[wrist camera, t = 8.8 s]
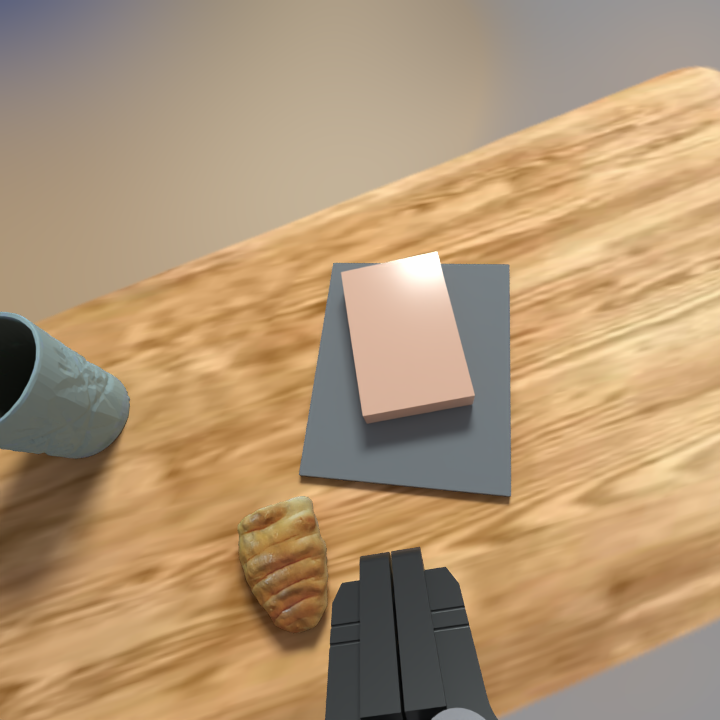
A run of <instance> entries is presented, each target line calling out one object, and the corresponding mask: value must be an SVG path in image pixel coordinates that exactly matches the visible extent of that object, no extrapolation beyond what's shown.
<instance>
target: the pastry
mask: <svg viewBox="0 0 720 720" xmlns="http://www.w3.org/2000/svg"><path fill="white" fill-rule="evenodd" d="M238 533H239V560H240V562H241V564H242V567H243V569H244V573H245V577H246V581H247V583H248V584H249V586H250V588H251V591H252V593H253V595H254V596H255V597H256V598H257V600H258V602H259V604H260V605H261V606H262V607H263V608H264V609H265V610H266V611H267V613H268V614H269V616H270V617H271V619H272V621H273V623H274V624H275V625H276V626H277V627H279V628H280V629H283V630H286V631H288V632H293V633H298V632H303V631H305V630H308V629H311V628H314V627H315V626H316V625H317V624H318V623H319V621H320V619H321V617H322V615H323V613H324V611H325V609H326V607H327V581H328V571H327V564H326V563H327V557H326V552H327V548H326V544H325V541H324V540H323V539H322V537H321V535H320V531H319V526H318V521H317V518H316V516H315V514H314V511H313V503H312V501H311V499H310V498H308V497H305V496H301V497H295V498H292V499H289V500H287V501H285V502H279V503H277V504H274V505H270V506H267V507H264V508H261V509H259V510H257V511H255V512H254V513H253V514H251V515H248V516H246V517H245V518H244V519H242V521H241V522H240V524H239V525H238Z"/></svg>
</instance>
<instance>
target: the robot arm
mask: <svg viewBox="0 0 720 720" xmlns="http://www.w3.org/2000/svg"><path fill="white" fill-rule="evenodd" d="M391 559H392V560H391ZM325 720H498V719H497V718H496V716H495V714H494V713H493V711H492V709H491V707H490V704H489V701H488V698H487V694H486V690H485V686H484V682H483V678H482V674H481V670H480V666H479V662H478V658H477V654H476V650H475V646H474V642H473V638H472V634H471V630H470V627H469V622H468V618H467V614H466V610H465V606H464V602H463V598H462V594H461V590H460V586H459V583H458V582H457V581H456V579H455V578H454V577H453V576H452V574H451V573H450V572H449V570H448V569H447V568H446V567H442V568H435V569H429V570H424V564H423V559H422V554H421V549H420V547H416V548H410V549H404V550H397V551H391V556H390V553H389V552H386V553H379V554H373V555H367V556H361V557H360V580H359V581H352V582H346V583H342V584H341V586H340V588H339V590H338V592H337V595H336V597H335V599H334V601H333V603H332V618H331V634H330V650H329V667H328V683H327V699H326V715H325Z"/></svg>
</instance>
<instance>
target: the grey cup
mask: <svg viewBox="0 0 720 720" xmlns="http://www.w3.org/2000/svg"><path fill="white" fill-rule="evenodd" d="M127 394H128V392H127V391H126V388H125V387H124V385H123V384H122V383H121V381H120V380H118V379H117V378H116V377H114V376H113V375H111V374H110V373H108V372H106V371H104V370H103V369H101V368H100V367H98V366H96V365H94V364H92V363H90V362H88V361H86V359H85V358H84V357H83V356H81V355H79V354H78V353H77V352H75V351H73V350H71V349H70V348H68V347H66V346H65V345H64V344H62V343H61V342H60V341H58V340H57V339H55V338H53V337H52V336H50V335H49V334H48V333H46V332H45V331H43V330H42V329H40V328H39V327H38V326H36V325H35V324H33V323H32V322H30V321H29V320H27V319H26V318H24V317H22V316H20V315H18V314H14V313H8V312H0V448H1V449H7V450H13V451H20V452H28V453H35V454H41V453H43V452H45V453H46V454H47V455H51V456H59V457H66V458H84V457H89V456H92V455H95V454H97V453H99V452H101V451H102V450H104V449H105V448H107V447H108V446H109V445H110V444H111V443H112V442H113V441H114V440H115V439H116V438H117V437H118V435H119V434H120V432H121V431H122V429H123V427H124V425H125V423H126V421H127V418H128V416H129V407H130V404H129V401H130V398H129V396H128V395H127Z"/></svg>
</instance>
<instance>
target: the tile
mask: <svg viewBox="0 0 720 720" xmlns="http://www.w3.org/2000/svg"><path fill="white" fill-rule="evenodd" d="M341 276H342V282H343V289H344V296H345V302H346V309H347V315H348V322H349V329H350V335H351V342H352V348H353V355H354V362H355V368H356V375H357V381H358V388H359V394H360V401H361V408H362V414H363V417H364V419H365V421H366V423H367V424H368V423H374V422H379V421H385V420H390V419H396V418H401V417H406V416H412V415H417V414H423V413H428V412H434V411H439V410H445V409H450V408H455V407H461V406H466V405H472V404H473V401H474V397H475V394H474V390H473V386H472V382H471V378H470V375H469V371H468V367H467V363H466V359H465V356H464V352H463V348H462V344H461V340H460V337H459V333H458V329H457V325H456V321H455V317H454V314H453V310H452V306H451V302H450V298H449V295H448V291H447V287H446V283H445V279H444V276H443V272H442V268H441V264H440V260H439V256H438V253H437V252H433V253H428V254H423V255H419V256H414V257H409V258H405V259H400V260H395V261H391V262H386V263H381V264H377V265H372V266H367V267H363V268H358V269H353V270H349V271H344V272H341Z"/></svg>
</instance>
